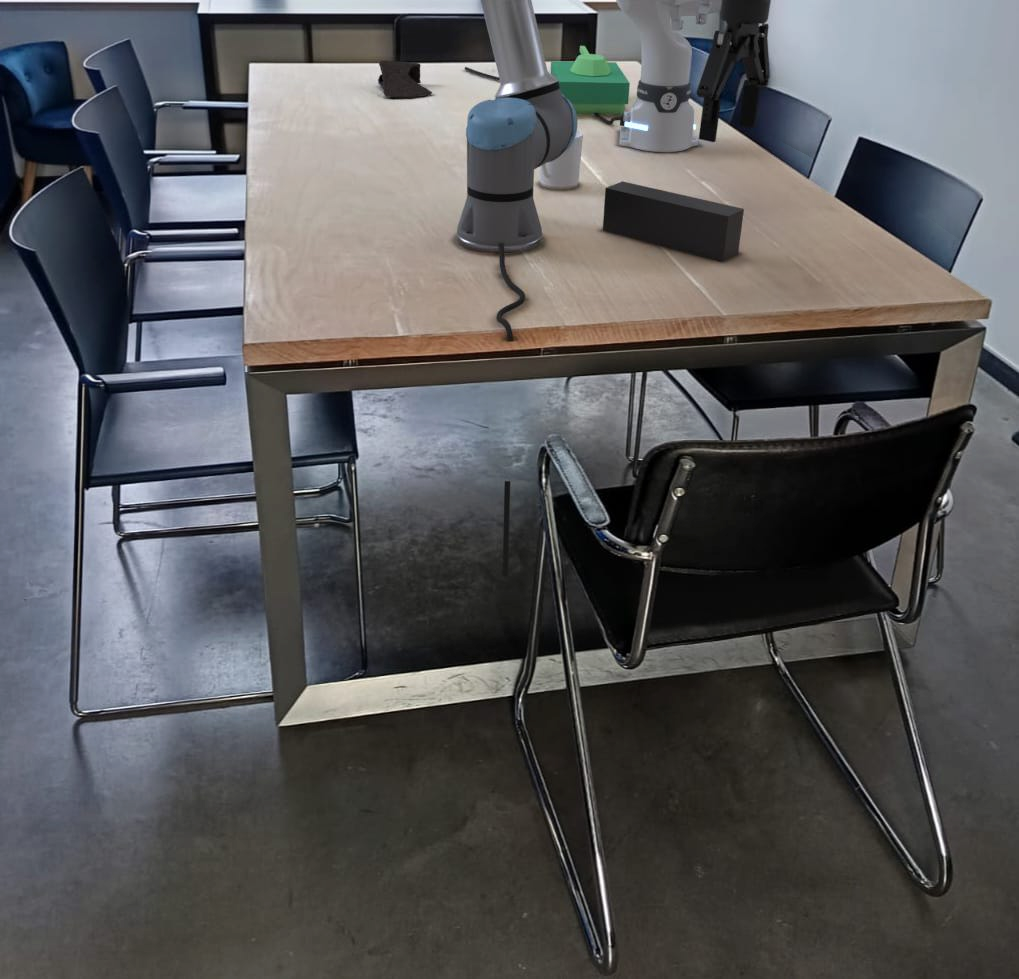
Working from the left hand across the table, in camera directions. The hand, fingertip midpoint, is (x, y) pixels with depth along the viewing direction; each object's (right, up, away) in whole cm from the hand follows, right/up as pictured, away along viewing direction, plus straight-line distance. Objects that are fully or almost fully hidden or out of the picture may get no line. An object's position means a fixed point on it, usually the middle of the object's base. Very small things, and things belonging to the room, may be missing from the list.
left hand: (727, 133), depth 182 cm
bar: (-7, -15, +16) cm, 23 cm away
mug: (-27, +3, +44) cm, 52 cm away
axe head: (-65, +50, +119) cm, 144 cm away
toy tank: (-16, +44, +111) cm, 120 cm away
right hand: (-2, +29, +27) cm, 39 cm away
